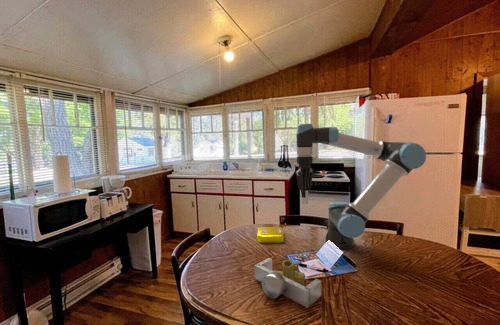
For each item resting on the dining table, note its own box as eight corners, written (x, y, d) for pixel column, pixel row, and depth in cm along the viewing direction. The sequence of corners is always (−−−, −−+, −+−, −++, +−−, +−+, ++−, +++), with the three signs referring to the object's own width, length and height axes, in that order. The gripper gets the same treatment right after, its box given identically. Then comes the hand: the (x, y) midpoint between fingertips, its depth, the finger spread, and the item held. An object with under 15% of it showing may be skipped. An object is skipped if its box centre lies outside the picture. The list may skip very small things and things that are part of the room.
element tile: (284, 243, 140) (283, 235, 140) (257, 243, 141) (257, 235, 141) (281, 233, 155) (281, 225, 155) (258, 233, 156) (257, 226, 156)
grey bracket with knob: (269, 270, 111) (268, 253, 110) (320, 296, 92) (320, 275, 91) (246, 283, 102) (245, 265, 101) (298, 315, 83) (298, 292, 82)
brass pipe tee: (304, 292, 96) (306, 275, 106) (302, 268, 94) (304, 253, 104) (272, 289, 100) (277, 272, 110) (269, 266, 98) (274, 252, 107)
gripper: (305, 154, 128) (306, 199, 130) (290, 156, 119) (290, 204, 121) (318, 155, 122) (318, 202, 124) (303, 157, 113) (303, 207, 116)
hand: (305, 203), depth 123 cm, fingers closed
